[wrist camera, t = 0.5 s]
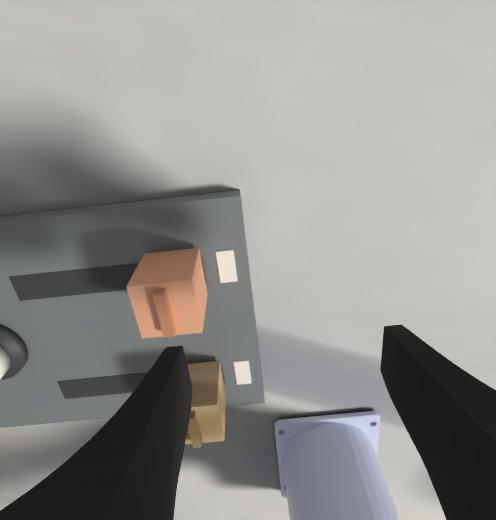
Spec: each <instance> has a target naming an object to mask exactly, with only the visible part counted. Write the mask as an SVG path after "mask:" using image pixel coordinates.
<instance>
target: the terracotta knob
mask: <svg viewBox="0 0 496 520" xmlns="http://www.w3.org/2000/svg"><path fill="white" fill-rule="evenodd" d="M126 287H127V290H128V294H129V297H130V300H131V304H132V307H133V310H134V314H135V317H136V320H137V324H138V327H139V330H140V334H141V337H142V339H144V338H154V337H164V338H167V337H174V336H175V335H184V334H194V333H202V331H203V324H204V317H205V310H206V304H207V297H208V293H207V288H206V282H205V277H204V271H203V266H202V260H201V255H200V250H199V248H191V249H182V250H173V251H163V252H154V253H144V255H143V257H142V259H141V261H140V262H139V264H138V266H137V268H136V270H135V272H134V273H133V275H132V277H131V279H130V281H129V283H128V284H127V286H126Z"/></svg>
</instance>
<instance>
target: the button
mask: <svg viewBox="0 0 496 520" xmlns="http://www.w3.org/2000/svg"><path fill="white" fill-rule="evenodd" d="M9 368H10V358H9V356H8V354H7V353H6V351H5V350H4V349H3V348H2V347H0V379H1V378H2V377H3V376H4V374H5V373H6V372H7V371H8V369H9Z"/></svg>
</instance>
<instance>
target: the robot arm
mask: <svg viewBox="0 0 496 520" xmlns="http://www.w3.org/2000/svg"><path fill="white" fill-rule="evenodd" d="M381 373H382V376H383V379H384V382H385V384H386V387H387V390H388V392H389V395H390V397H391V399H392V402H393V404H394V406H395V407H396V409H397V411H398V413H399V415H400V417H401V419H402V421H403V423H404V425H405V427H406V429H407V431H408V433H409V435H410V437H411V439H412V441H413V443H414V445H415V446H416V448H417V450H418V452H419V454H420V456H421V458H422V460H423V463H424V465H425V467H426V469H427V471H428V474H429V476H430V479H431V481H432V484H433V486H434V489H435V491H436V494H437V496H438V498H439V501H440V504H441V506H442V509H443V511H444V514H445V517H446V519H447V520H496V390H494V389H493V388H491V387H489V386H488V385H486V384H484V383H483V382H481V381H479V380H478V379H476V378H475V377H473V376H472V375H470V374H469V373H467V372H466V371H464V370H462V369H461V368H460V367H458V366H457V365H455V364H454V363H452V362H451V361H449V360H448V359H447V358H445V357H444V356H443V355H441V354H440V353H438V352H437V351H436V350H434V349H433V348H432V347H430V346H429V345H428V344H426V343H425V342H424V341H422V340H421V339H420V338H418V337H417V336H416V335H415V334H413V333H412V332H411V331H409V330H408V329H407V328H405V327H404V326H403V325H393V326H384V334H383V347H382V359H381ZM192 388H193V387H192V383H191V379H190V374H189V370H188V366H187V361H186V357H185V353H184V348H183V346H172V347H166V348H165V349H164V350H163V352H162V353H161V354H160V356H159V357H158V359H157V360H156V362H155V363H154V364H153V366H152V367H151V369H150V370H149V371H148V373H147V374H146V376H145V377H144V378H143V380H142V381H141V382H140V384H139V385H138V386H137V388H136V389H135V390H134V391H133V393H132V394H131V395H130V396H129V398H128V399H127V400H126V401H125V402H124V404H123V405H122V406H121V407H120V408H119V410H118V411H117V412H116V413H115V414H114V415H113V417H112V418H111V419H110V420H109V421H108V422H107V423H106V424H105V425H104V426H103V427H102V428H101V429H100V430H99V431H98V432H97V433H96V434H95V435H94V436H93V437H92V438H91V439H90V440H89V441H88V442H87V443H86V444H85V445H84V446H83V447H82V448H80V449H79V450H78V451H77V452H76V453H75V454H74V455H73V456H72V457H70V458H69V459H68V460H67V461H66V462H65V463H64V464H62V465H61V466H60V467H59V468H58V469H56V470H55V471H54V472H53V473H51V474H50V475H49V476H48V477H46V478H45V479H44V480H42V481H41V482H40V483H39V484H37V485H36V486H35V487H33V488H32V489H31V490H29V491H28V492H27V493H25V494H24V495H22V496H21V497H19V498H18V499H17V500H15V501H14V502H12V503H11V504H9V505H8V506H7V507H5V508H4V509H2V510H1V511H0V520H173V517H174V507H175V497H176V489H177V483H178V477H179V472H180V466H181V461H182V456H183V451H184V446H185V441H186V436H187V431H188V426H189V420H190V415H191V403H192ZM379 425H380V416H379V414H378V413H377V412H376V411H367V412H356V413H345V414H335V415H324V416H313V417H302V418H291V419H281V420H277V421H276V422H275V423H274V428H275V438H276V447H277V456H278V466H279V475H280V484H281V494H282V496H283V497H284V498H287V499H288V508H289V517H290V520H400V518H399V516H398V513H397V510H396V507H395V505H394V502H393V499H392V496H391V494H390V491H389V488H388V485H387V483H386V480H385V477H384V475H383V472H382V469H381V466H380V464H379V461H378V458H377V449H378V437H379Z"/></svg>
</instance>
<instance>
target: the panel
mask: <svg viewBox="0 0 496 520" xmlns="http://www.w3.org/2000/svg"><path fill="white" fill-rule="evenodd" d="M191 248H199V250H200V255H201V260H202V266H203V271H204V277H205V282H206V288H207V293H208V297H207V304H206V310H205V317H204V324H203V331H202V333H194V334H184V335H175V336H174V337H167V338H164V337H154V338H144V339H142V337H141V334H140V330H139V327H138V324H137V320H136V317H135V314H134V310H133V307H132V304H131V300H130V297H129V294H128V290H127V287H126V286H127V284H128V283H129V281H130V279H131V277H132V275H133V273H134V272H135V270H136V268H137V266H138V264H139V262H140V261H141V259H142V257H143V255H144V253H154V252H163V251H173V250H182V249H191ZM172 346H183V348H184V353H185V357H186V361H187V364H192V363H202V362H213V361H220V364H221V369H222V375H223V380H224V385H225V391H226V406H236V405H247V404H258V403H265V402H264V390H263V381H262V373H261V364H260V356H259V348H258V339H257V331H256V322H255V314H254V306H253V297H252V289H251V280H250V272H249V264H248V255H247V247H246V238H245V230H244V222H243V213H242V205H241V196H240V190H232V191H223V192H214V193H205V194H196V195H187V196H178V197H169V198H160V199H151V200H141V201H132V202H123V203H114V204H105V205H96V206H87V207H78V208H69V209H60V210H51V211H42V212H33V213H24V214H15V215H6V216H0V347H2V348H3V349H4V350H5V351H6V353H7V354H8V356H9V358H10V368H9V369H8V371H7V372H6V373H5V374H4V376H3V377H2V378H1V379H0V428H3V427H13V426H24V425H35V424H45V423H56V422H66V421H77V420H88V419H98V418H109V417H113V415H114V414H115V413H116V412H117V411H118V410H119V408H120V407H121V406H122V405H123V404H124V402H125V401H126V400H127V399H128V398H129V396H130V395H131V394H132V393H133V391H134V390H135V389H136V388H137V386H138V385H139V384H140V382H141V381H142V380H143V378H144V377H145V376H146V374H147V373H148V371H149V370H150V369H151V367H152V366H153V364H154V363H155V362H156V360H157V359H158V357H159V356H160V354H161V353H162V352H163V350H164V349H165V348H166V347H172Z"/></svg>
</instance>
